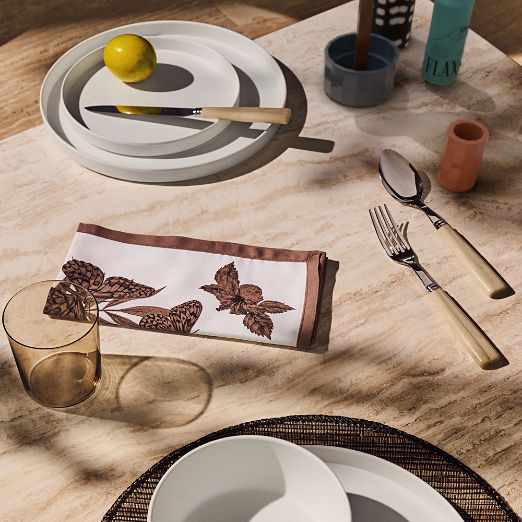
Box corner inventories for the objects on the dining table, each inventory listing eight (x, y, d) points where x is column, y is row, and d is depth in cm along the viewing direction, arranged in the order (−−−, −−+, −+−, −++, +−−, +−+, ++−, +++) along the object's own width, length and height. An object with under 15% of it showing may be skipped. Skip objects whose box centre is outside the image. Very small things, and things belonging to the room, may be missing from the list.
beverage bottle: (415, 88, 117) (434, -25, 102) (423, 68, 121) (443, -44, 106) (453, 96, 115) (478, -18, 100) (460, 75, 119) (486, -38, 104)
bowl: (388, 66, 122) (393, 30, 116) (398, 107, 114) (404, 71, 108) (320, 68, 122) (322, 33, 116) (325, 110, 114) (327, 74, 108)
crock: (470, 166, 104) (483, 118, 97) (478, 191, 100) (493, 143, 93) (433, 167, 104) (444, 119, 97) (440, 192, 100) (452, 144, 93)
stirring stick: (363, 81, 118) (378, -59, 100) (364, 88, 117) (379, -53, 98) (351, 81, 118) (364, -59, 100) (353, 88, 117) (365, -52, 98)
